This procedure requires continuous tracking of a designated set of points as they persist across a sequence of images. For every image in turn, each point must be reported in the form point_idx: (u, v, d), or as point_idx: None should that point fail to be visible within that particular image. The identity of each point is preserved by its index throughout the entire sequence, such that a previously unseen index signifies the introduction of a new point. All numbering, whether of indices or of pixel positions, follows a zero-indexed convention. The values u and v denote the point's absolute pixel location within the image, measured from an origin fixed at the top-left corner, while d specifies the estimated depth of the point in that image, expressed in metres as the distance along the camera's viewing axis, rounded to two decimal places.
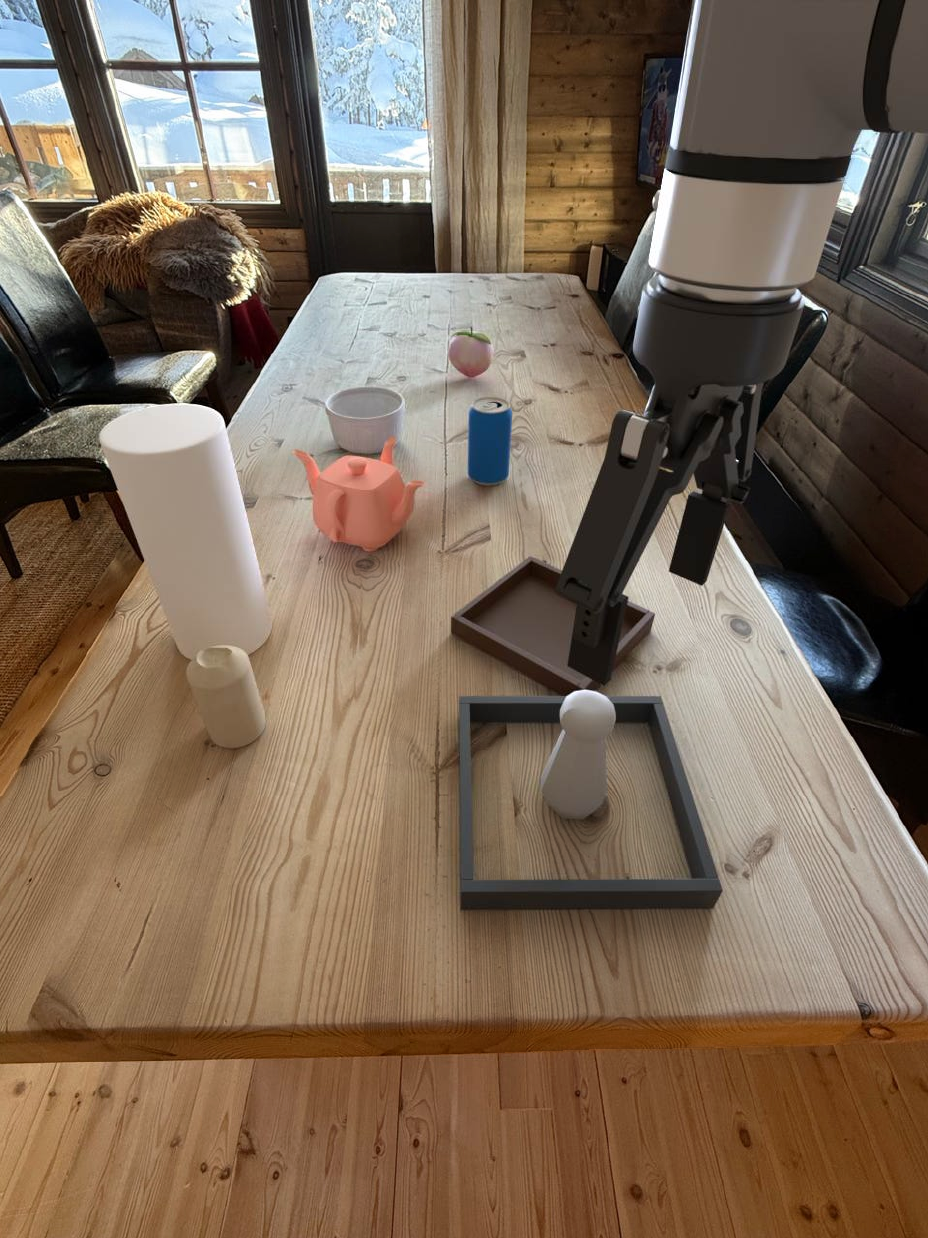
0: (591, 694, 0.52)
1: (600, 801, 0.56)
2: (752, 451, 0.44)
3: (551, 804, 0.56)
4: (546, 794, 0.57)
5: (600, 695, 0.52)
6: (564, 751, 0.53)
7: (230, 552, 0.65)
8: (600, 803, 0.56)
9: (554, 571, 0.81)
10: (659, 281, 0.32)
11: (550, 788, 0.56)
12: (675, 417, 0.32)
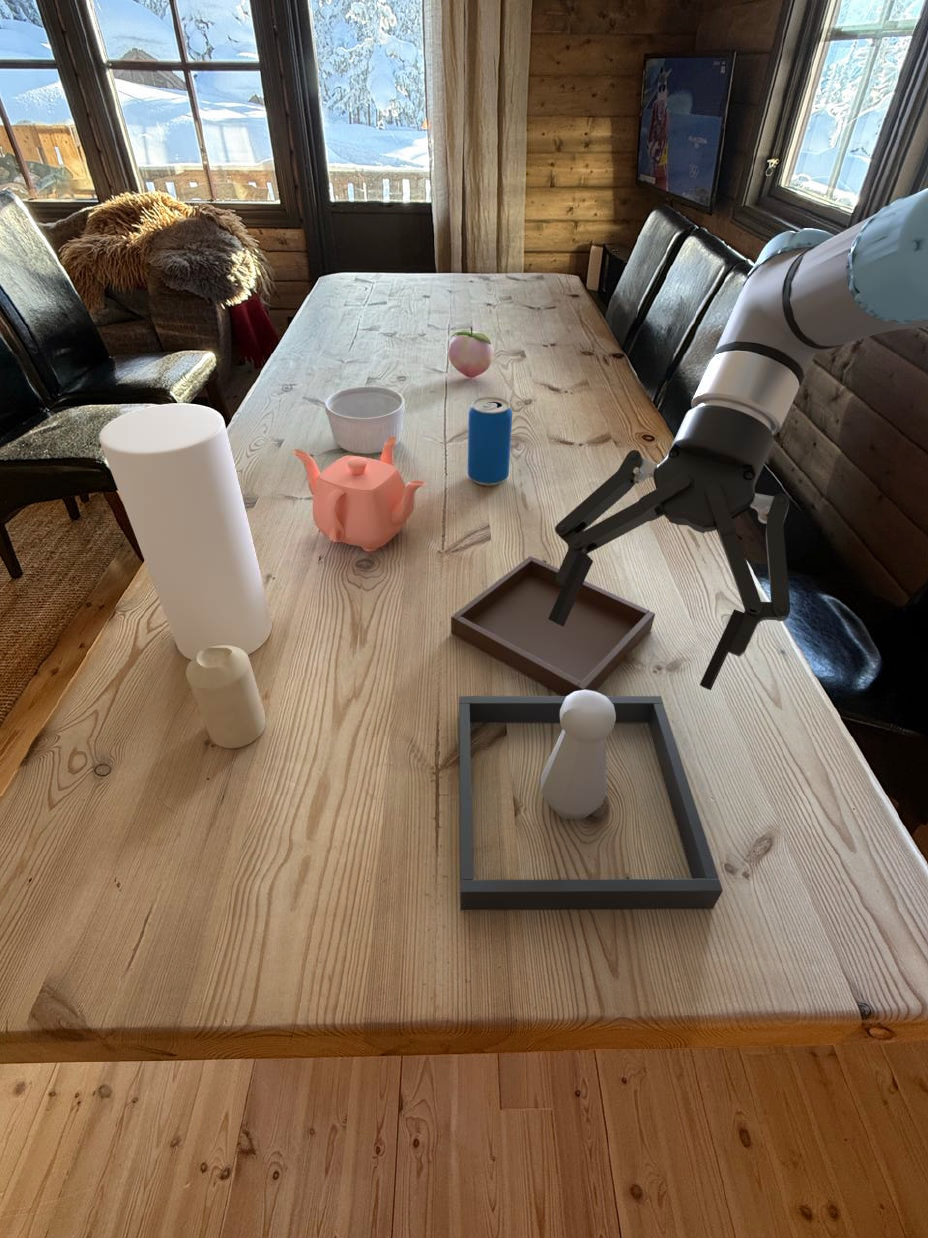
0: (591, 694, 0.52)
1: (600, 801, 0.56)
2: (785, 585, 0.51)
3: (551, 804, 0.56)
4: (546, 794, 0.57)
5: (600, 695, 0.52)
6: (564, 751, 0.53)
7: (230, 552, 0.65)
8: (600, 803, 0.56)
9: (554, 571, 0.81)
10: None
11: (550, 788, 0.56)
12: (658, 464, 0.56)
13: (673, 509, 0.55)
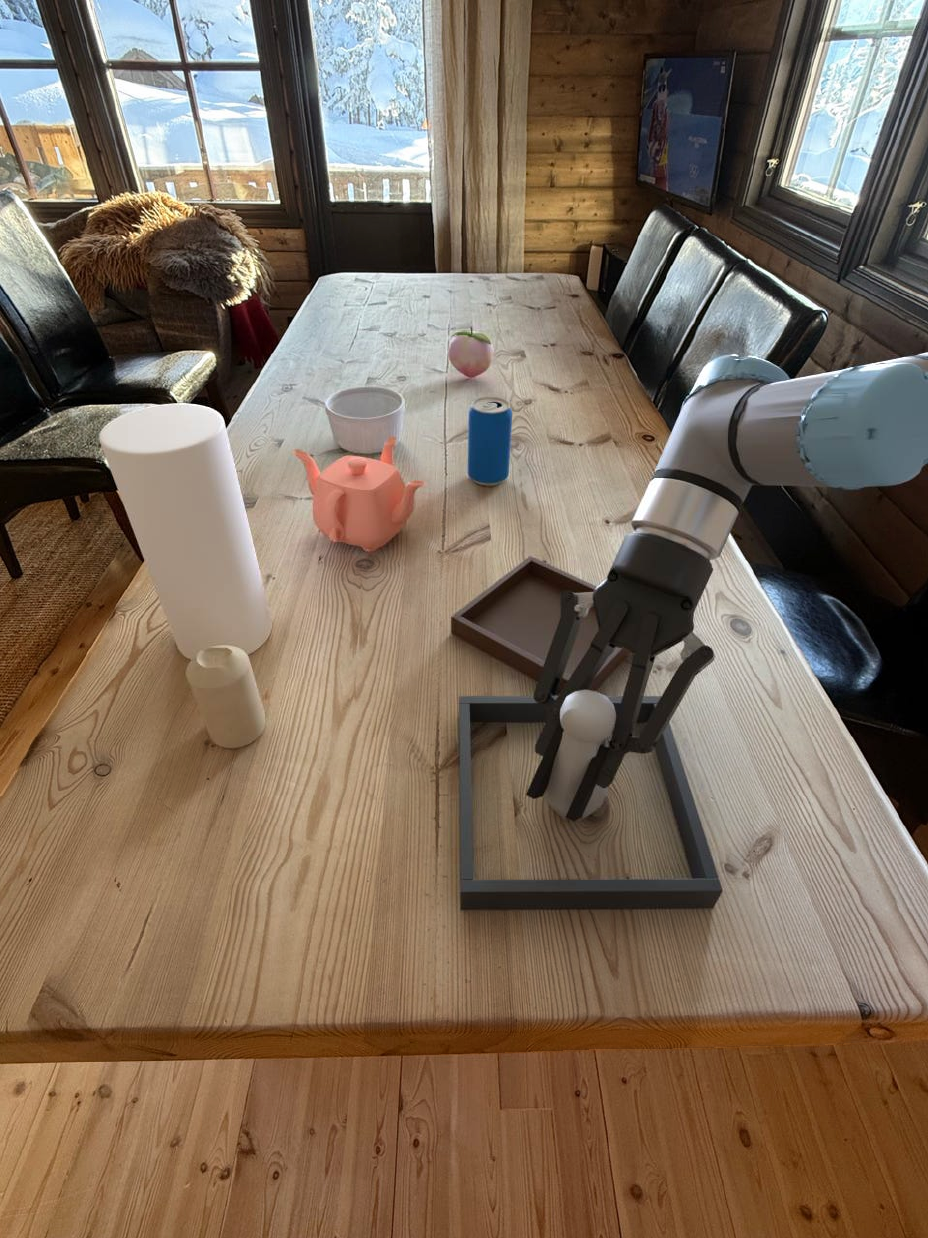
0: (591, 694, 0.52)
1: (600, 801, 0.56)
2: (658, 728, 0.51)
3: (551, 804, 0.56)
4: (546, 794, 0.57)
5: (600, 695, 0.52)
6: (564, 751, 0.53)
7: (230, 552, 0.65)
8: (600, 803, 0.56)
9: (554, 571, 0.81)
10: None
11: (551, 788, 0.56)
12: (597, 586, 0.55)
13: None
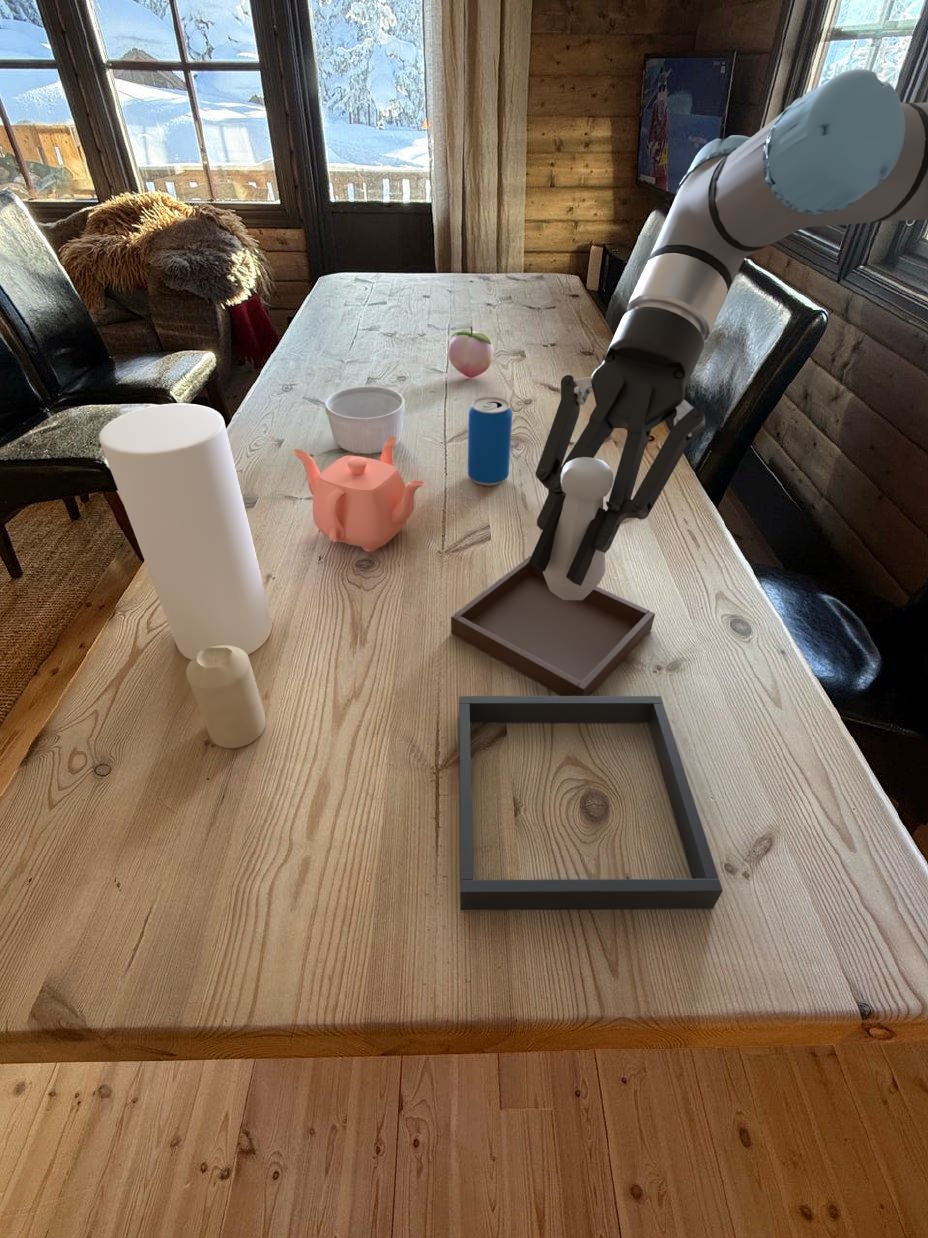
0: (590, 458, 0.55)
1: (599, 576, 0.60)
2: (652, 486, 0.55)
3: (553, 581, 0.60)
4: (548, 572, 0.60)
5: (598, 459, 0.55)
6: (565, 518, 0.57)
7: (230, 552, 0.65)
8: (599, 578, 0.60)
9: None
10: None
11: (552, 563, 0.59)
12: None
13: None
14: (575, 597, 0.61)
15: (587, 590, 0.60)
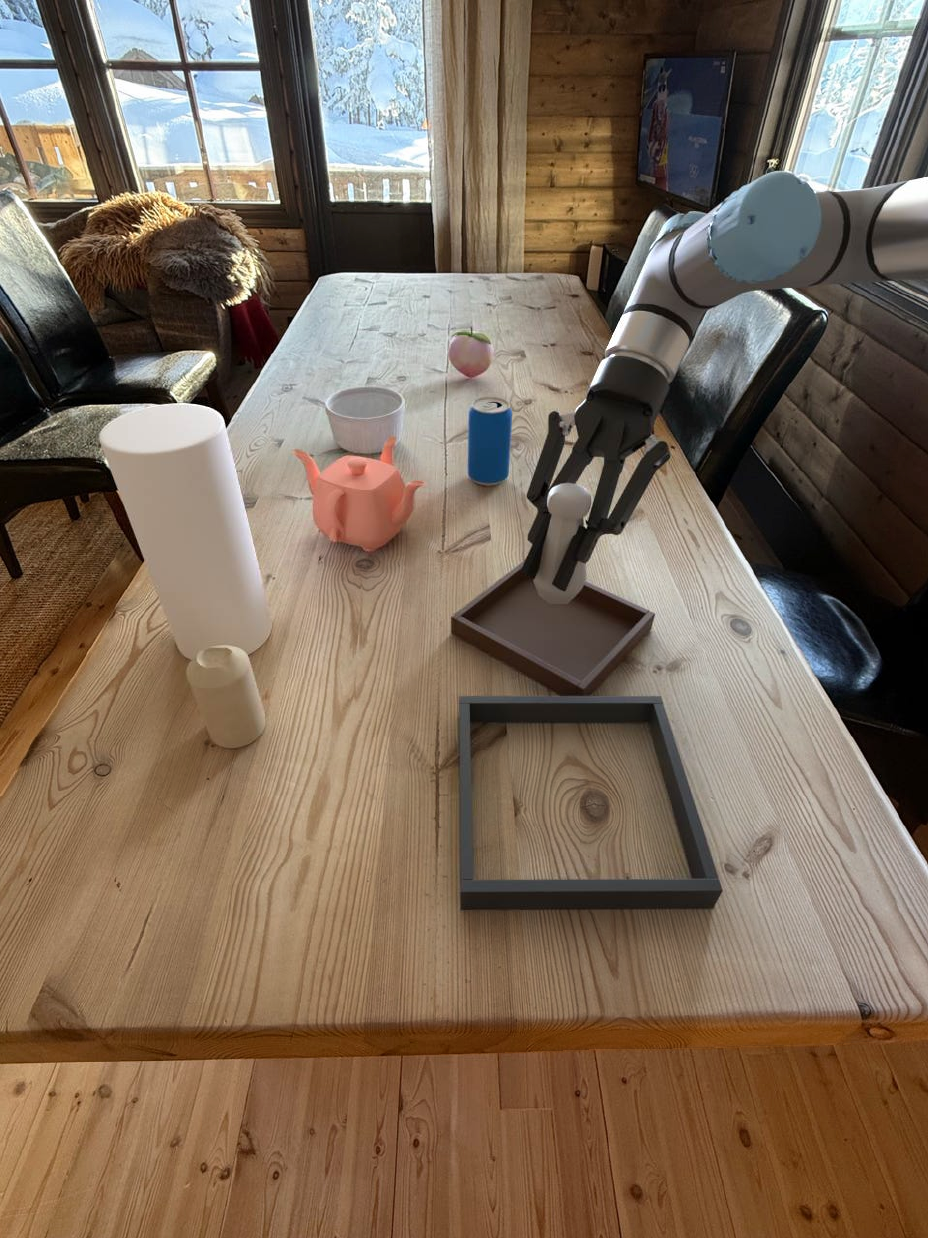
0: (572, 484, 0.65)
1: (581, 583, 0.70)
2: (624, 508, 0.64)
3: (541, 587, 0.70)
4: (537, 580, 0.70)
5: (579, 485, 0.65)
6: (551, 534, 0.67)
7: (230, 552, 0.65)
8: (581, 585, 0.70)
9: None
10: None
11: (541, 572, 0.69)
12: (578, 407, 0.68)
13: None
14: (561, 601, 0.71)
15: (571, 595, 0.70)
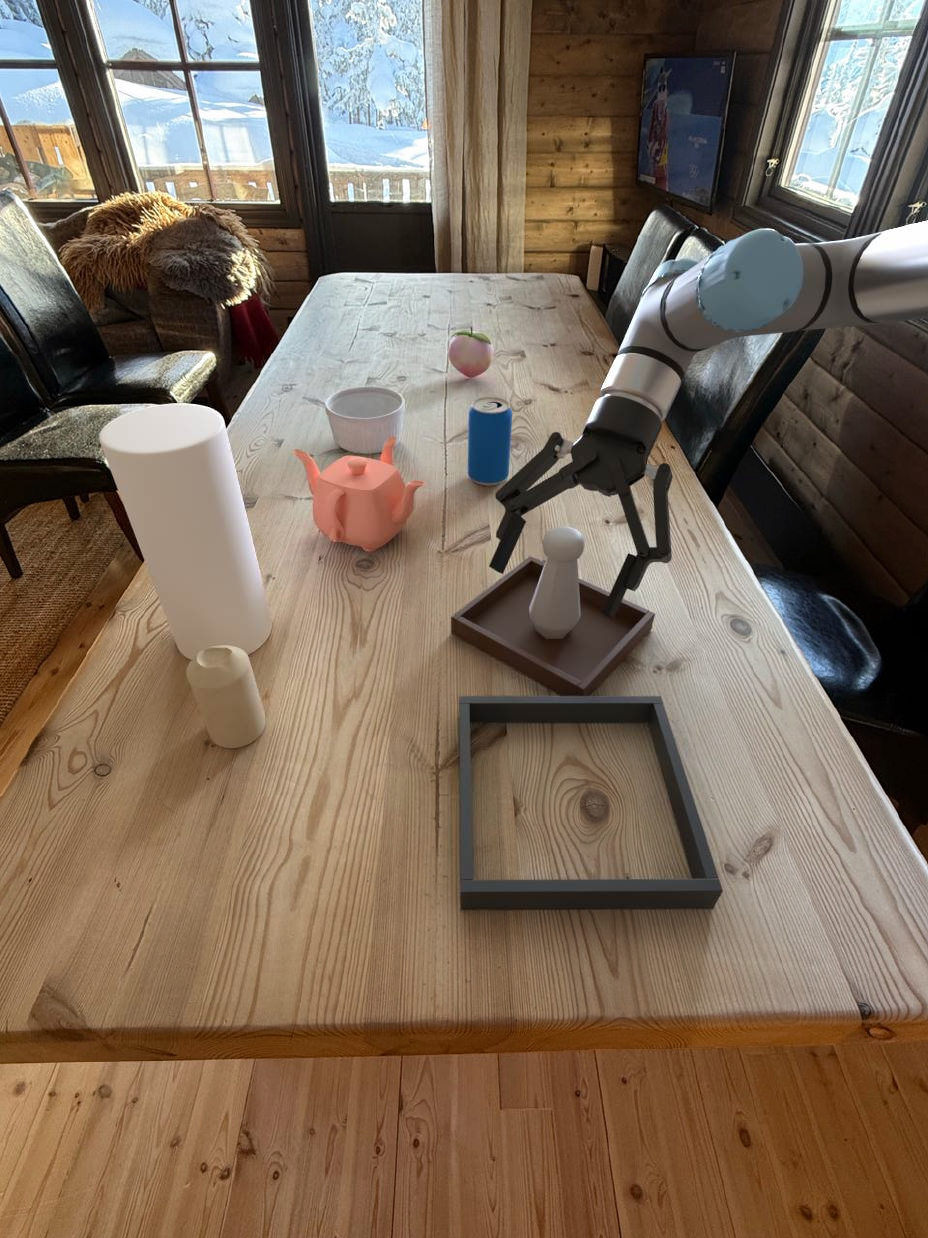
0: (566, 528, 0.69)
1: (575, 620, 0.73)
2: (665, 533, 0.65)
3: (537, 623, 0.73)
4: (533, 616, 0.74)
5: None
6: (547, 575, 0.70)
7: (230, 552, 0.65)
8: (575, 622, 0.73)
9: None
10: None
11: (537, 610, 0.73)
12: (574, 443, 0.71)
13: (584, 477, 0.70)
14: (556, 636, 0.74)
15: (565, 631, 0.73)
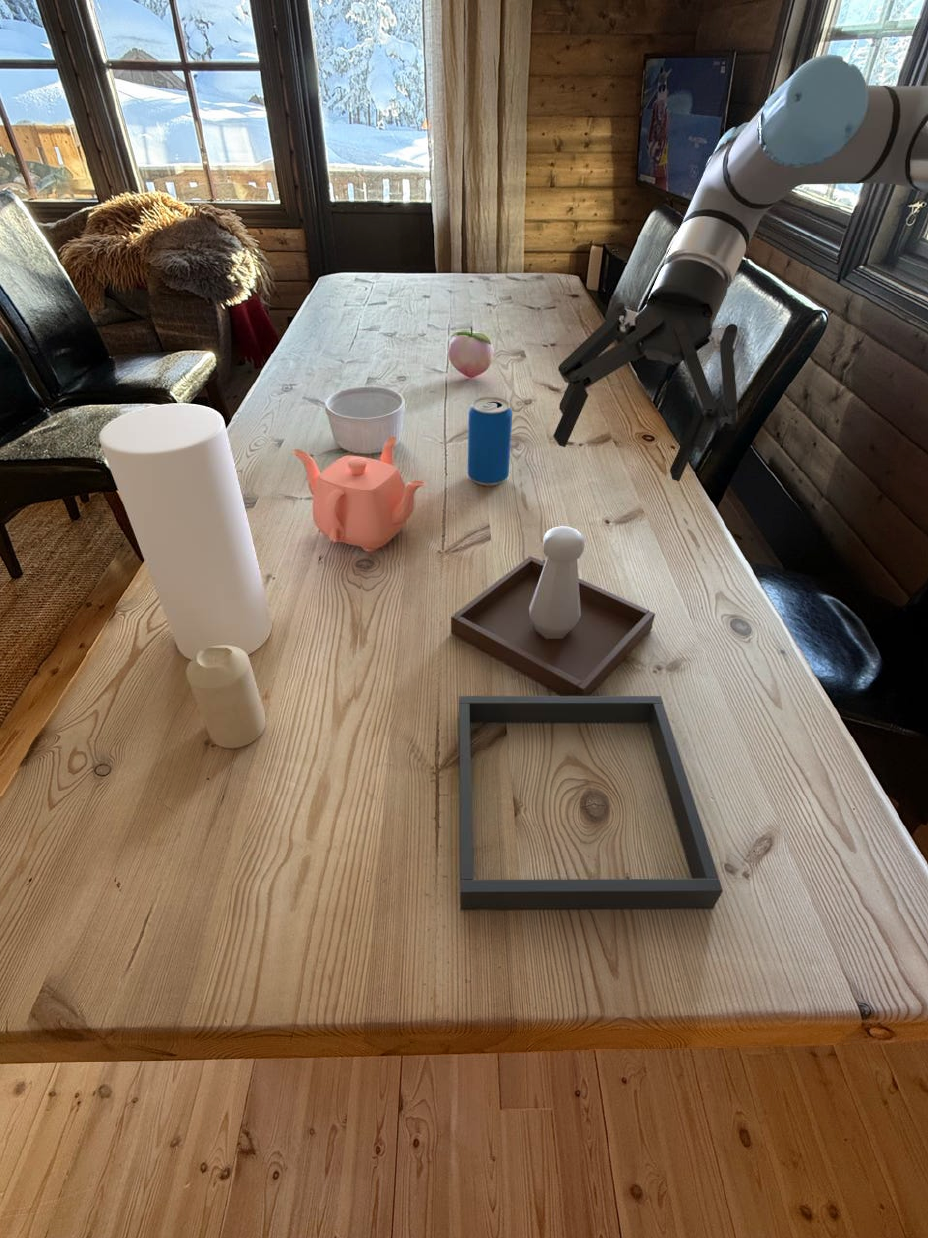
0: (566, 528, 0.69)
1: (575, 620, 0.73)
2: (733, 391, 0.67)
3: (537, 623, 0.73)
4: (533, 616, 0.74)
5: None
6: (547, 575, 0.70)
7: (230, 552, 0.65)
8: (575, 622, 0.73)
9: None
10: None
11: (537, 610, 0.73)
12: None
13: (650, 344, 0.71)
14: (556, 636, 0.74)
15: (566, 631, 0.73)
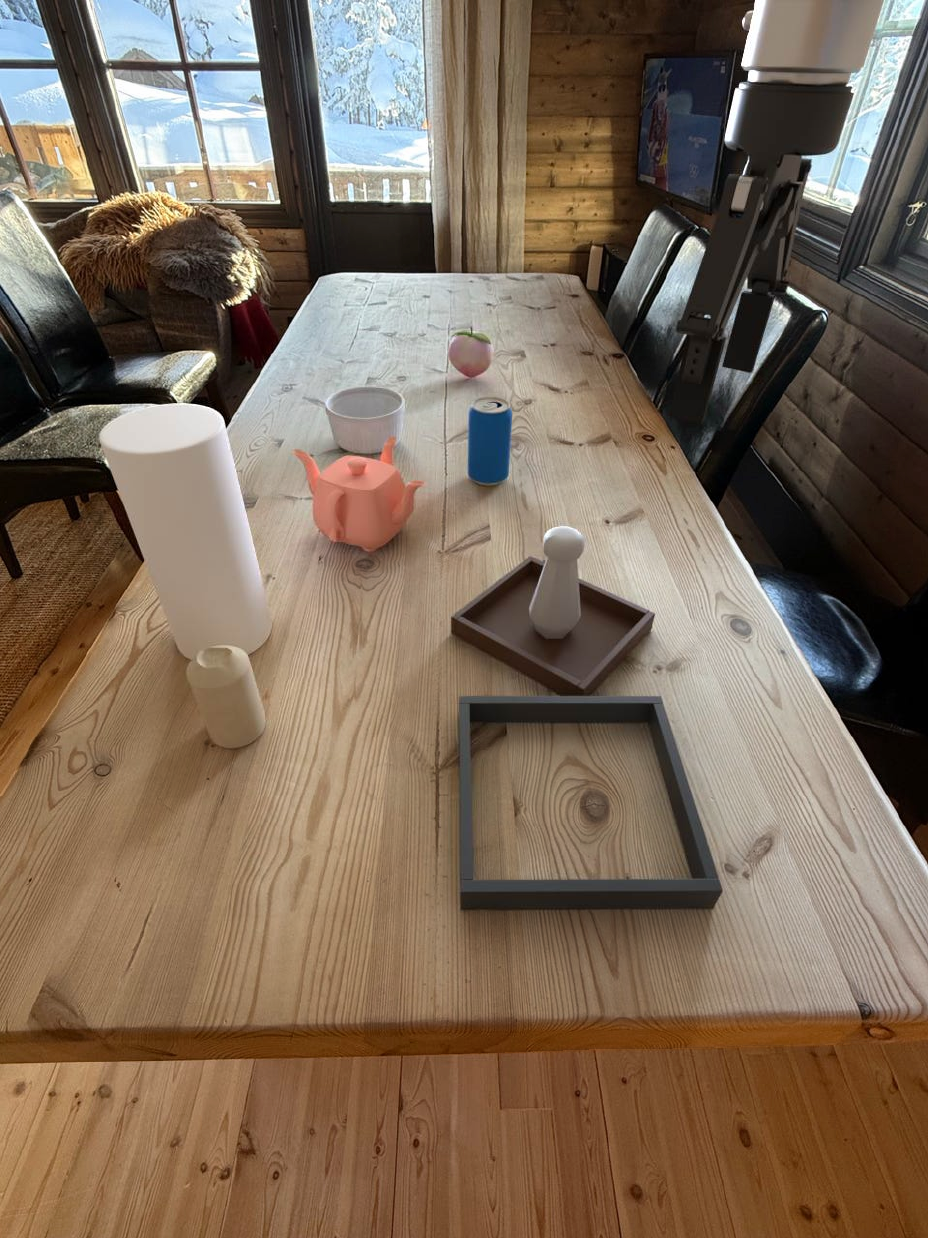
0: (566, 528, 0.69)
1: (575, 620, 0.73)
2: (790, 251, 0.57)
3: (537, 623, 0.73)
4: (533, 616, 0.74)
5: None
6: (547, 575, 0.70)
7: (230, 552, 0.65)
8: (575, 622, 0.73)
9: None
10: (750, 80, 0.44)
11: (537, 610, 0.73)
12: None
13: None
14: (556, 636, 0.74)
15: (566, 631, 0.73)
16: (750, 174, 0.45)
